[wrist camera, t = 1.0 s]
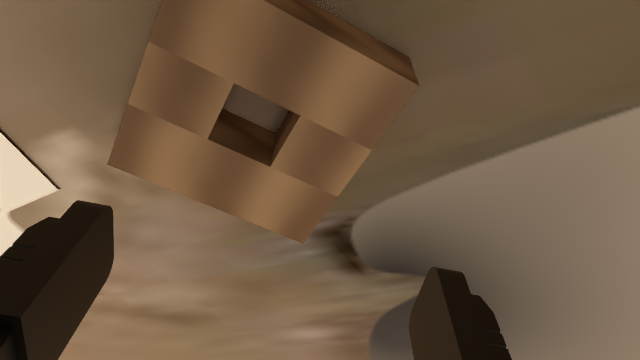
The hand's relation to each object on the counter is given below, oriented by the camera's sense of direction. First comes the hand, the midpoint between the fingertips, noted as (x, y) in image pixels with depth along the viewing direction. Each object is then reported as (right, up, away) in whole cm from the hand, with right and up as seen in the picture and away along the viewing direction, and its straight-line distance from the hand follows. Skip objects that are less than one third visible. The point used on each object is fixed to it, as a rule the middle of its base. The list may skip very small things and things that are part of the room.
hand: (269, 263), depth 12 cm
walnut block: (-3, +8, +19) cm, 21 cm away
